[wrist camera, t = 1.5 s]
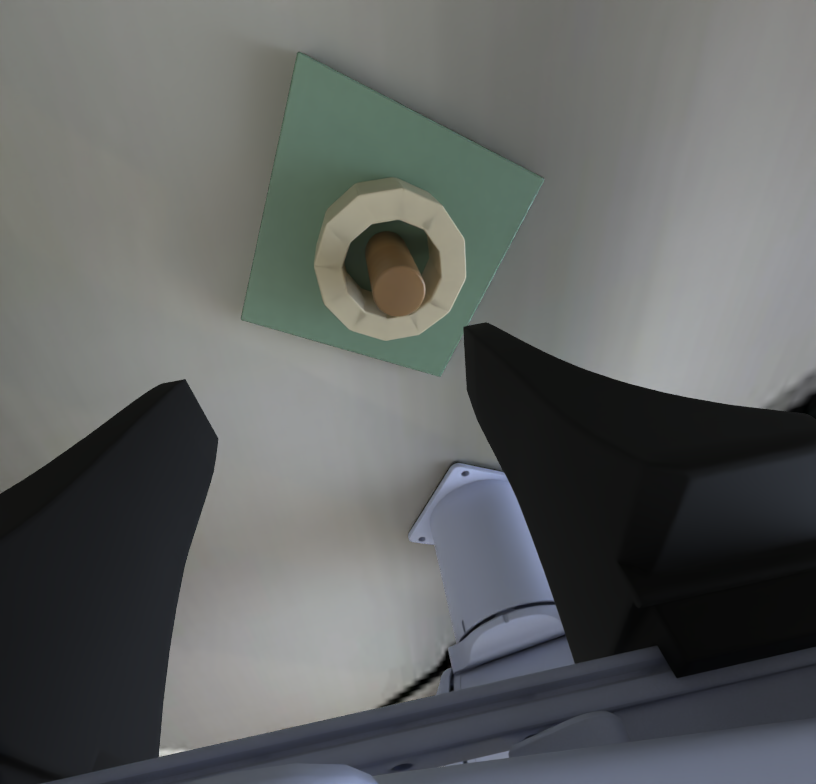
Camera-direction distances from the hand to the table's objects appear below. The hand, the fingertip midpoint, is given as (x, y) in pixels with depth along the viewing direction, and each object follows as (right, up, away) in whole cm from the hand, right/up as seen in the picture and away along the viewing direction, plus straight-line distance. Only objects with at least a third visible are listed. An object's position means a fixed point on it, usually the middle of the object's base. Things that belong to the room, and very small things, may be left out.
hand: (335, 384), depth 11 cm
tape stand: (+1, +6, +7) cm, 10 cm away
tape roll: (+1, +6, +7) cm, 9 cm away
